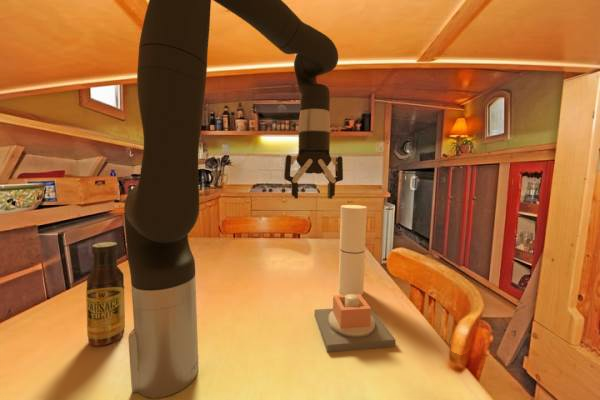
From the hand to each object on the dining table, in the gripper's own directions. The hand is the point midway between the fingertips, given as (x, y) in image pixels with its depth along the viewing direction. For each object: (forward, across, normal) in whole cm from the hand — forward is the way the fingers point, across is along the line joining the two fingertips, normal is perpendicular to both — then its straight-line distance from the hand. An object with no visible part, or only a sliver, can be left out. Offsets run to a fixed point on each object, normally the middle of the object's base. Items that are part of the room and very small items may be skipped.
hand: (313, 198), depth 65 cm
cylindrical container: (+28, +13, +7) cm, 32 cm away
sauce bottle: (+28, -44, -8) cm, 53 cm away
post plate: (+28, +7, -11) cm, 31 cm away
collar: (+26, +7, -11) cm, 29 cm away
